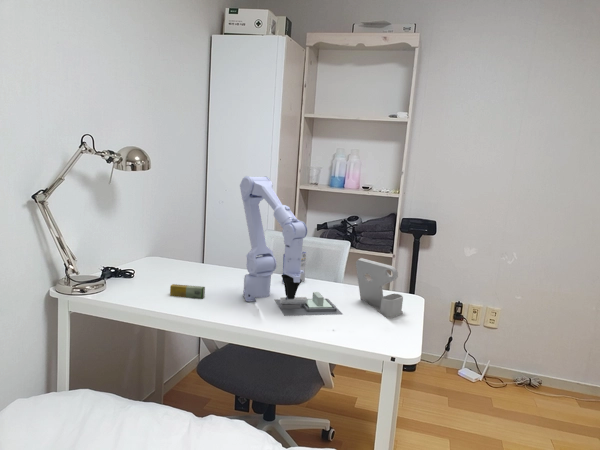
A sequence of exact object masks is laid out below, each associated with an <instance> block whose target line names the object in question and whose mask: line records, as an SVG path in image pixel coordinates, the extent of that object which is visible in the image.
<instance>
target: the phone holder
mask: <svg viewBox="0 0 600 450" xmlns="http://www.w3.org/2000/svg"><path fill="white" fill-rule="evenodd" d="M355 268H356V276H357V283H358V291H359V297H360V300H362V301H365V302H366V303H367V304H369V305H370V307H372V308H373V309H374V310H375V311H377V312H378V313H379V314H381V316H383V317H384V318H385V319H389V320H390V319H393V318H396V317H397V316H400V315H403V302H404V301H403V300H404V296H403V295H402V294H399V293H391V294H387V295H384V292H383V286H385V285H387V284H389V283H392V282H393V281H395V280H397V279H398V277H399V276H398V275H399V273H398V270H397V268H396V267H394V266H392V265H391V264H386V263H383V262H377V261H376V260H375V261H374V260H370V259H366V258H363V257H360V258H358V259H357V260H356V261H355ZM388 271H390V272H391V273H392V275H391V274H390V273H389V272H388ZM366 275H369V277H370V279H371V280H368V278H367V277H366Z"/></svg>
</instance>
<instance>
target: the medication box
mask: <svg viewBox="0 0 600 450" xmlns="http://www.w3.org/2000/svg"><path fill="white" fill-rule="evenodd" d="M169 288H170V289H169V291H170V293H169V297H177V298H189V299H198V300H203V299H205V297H206V296H205V295H206V294H205V293H206V286H202V285H200V286H199V285H188V284H177V283H176V284H175V283H172V284H171V285H170V287H169Z"/></svg>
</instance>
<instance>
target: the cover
mask: <svg viewBox="0 0 600 450" xmlns="http://www.w3.org/2000/svg"><path fill="white" fill-rule="evenodd" d="M307 299H308V304H305V305H306V306H307V307H308V309H310V308H332V306H331V305H330V304H329V303H328V302H327V301H326V300H325V299H326V298H325V297H324V296H323V295H322V294H321V293H320V292H319V291H312V297H311V298H307Z"/></svg>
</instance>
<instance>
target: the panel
mask: <svg viewBox="0 0 600 450" xmlns="http://www.w3.org/2000/svg"><path fill="white" fill-rule="evenodd" d="M324 299H325V300H326V301H327V302H328V303H329V304H330V305H331V306H332V308H310V309H308V307H307V306H306V305H305V304H281V302H280V298H277V299H276V298H274V299H273V300H274V301H275V304H276V305H277V307H278V308H279V310H280V311H281V314H283V317H284V316H285V317H288V316H289V317H290V316H291V317H292V316H300V317H301V316H335V315H343V312H342V311H340V309H339V308H338V307H337V306H336V305H335V304H334V303H333V302H332V301H331V300H330V299H329V298H324Z"/></svg>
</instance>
